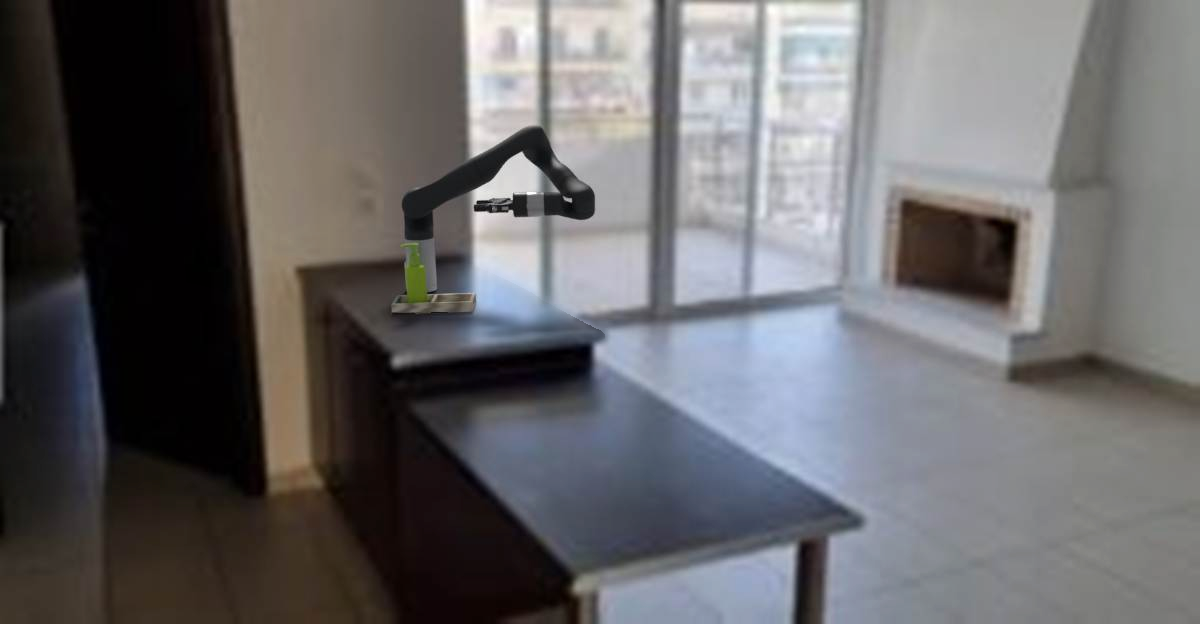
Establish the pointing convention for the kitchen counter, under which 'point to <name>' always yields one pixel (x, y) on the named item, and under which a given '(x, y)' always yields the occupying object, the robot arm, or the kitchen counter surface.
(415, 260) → the soap dispenser
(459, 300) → the caddy
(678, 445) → the kitchen counter surface
